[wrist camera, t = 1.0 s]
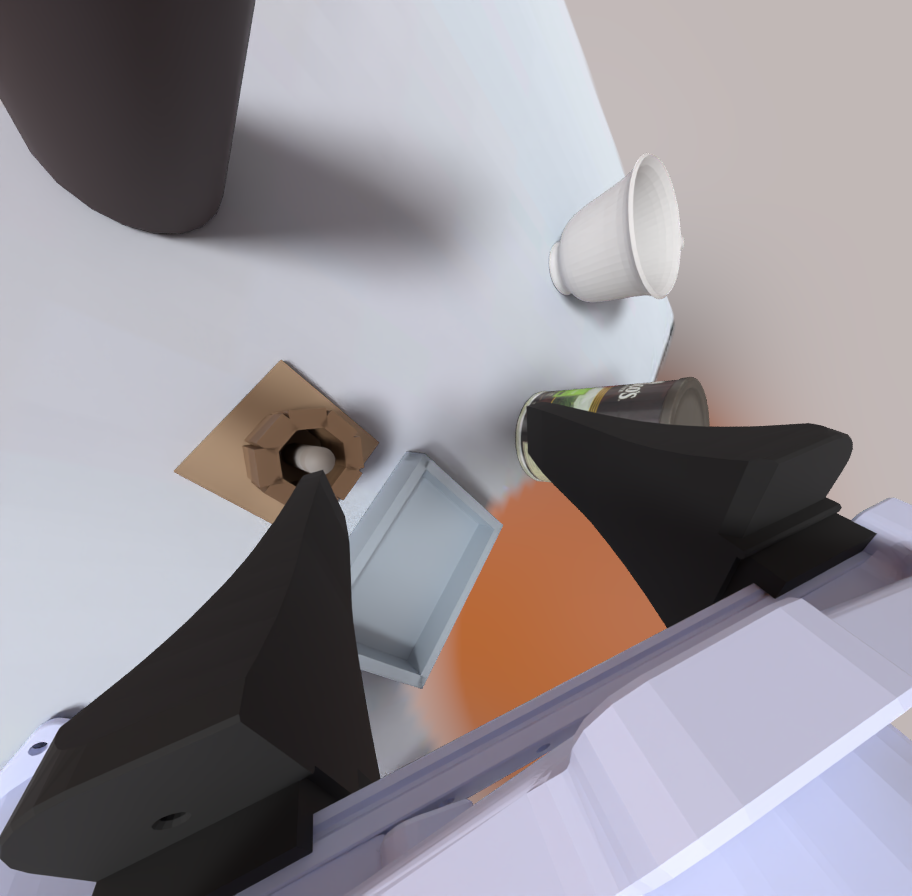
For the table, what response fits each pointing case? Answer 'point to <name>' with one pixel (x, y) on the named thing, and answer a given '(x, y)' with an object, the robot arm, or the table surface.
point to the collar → (279, 430)
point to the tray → (415, 568)
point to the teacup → (622, 240)
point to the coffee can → (623, 408)
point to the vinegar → (129, 100)
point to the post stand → (222, 451)
